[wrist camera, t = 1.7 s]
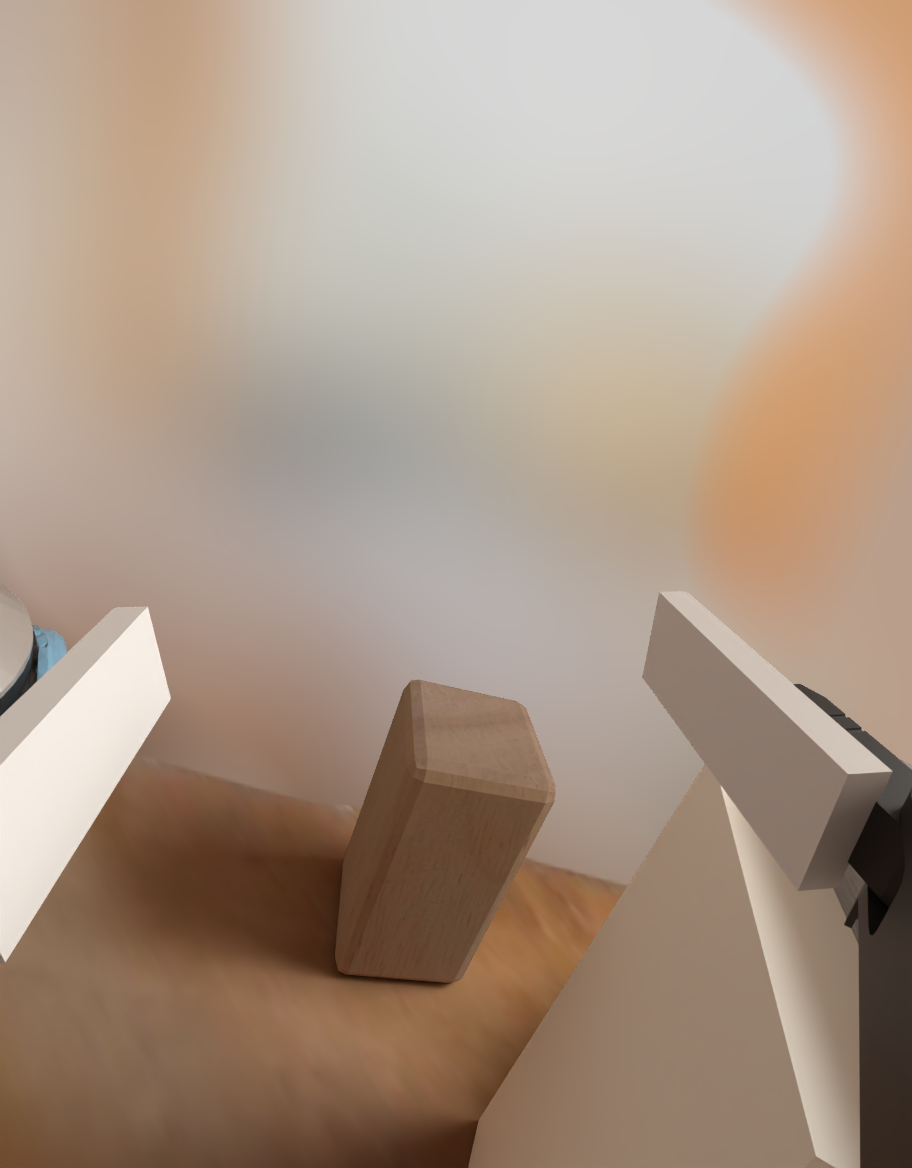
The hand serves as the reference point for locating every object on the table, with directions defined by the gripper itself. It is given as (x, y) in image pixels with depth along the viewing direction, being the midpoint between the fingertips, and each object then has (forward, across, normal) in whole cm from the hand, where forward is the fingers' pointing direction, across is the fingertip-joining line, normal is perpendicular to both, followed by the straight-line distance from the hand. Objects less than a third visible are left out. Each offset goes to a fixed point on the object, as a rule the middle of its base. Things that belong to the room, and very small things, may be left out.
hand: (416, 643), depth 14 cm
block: (+16, -2, -36) cm, 40 cm away
